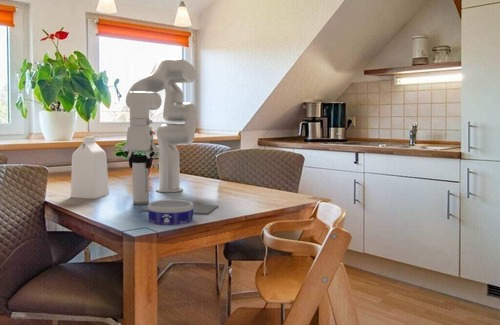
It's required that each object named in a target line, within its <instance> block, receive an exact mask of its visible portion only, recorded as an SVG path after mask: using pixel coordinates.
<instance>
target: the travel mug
mask: <svg viewBox="0 0 500 325" xmlns="http://www.w3.org/2000/svg"><path fill="white" fill-rule="evenodd" d="M131 156H132V160H133V161H132V168H131V170H132V202H133V203H132V204H134V205H138V206H139V205H140V206H141V205H148V204H149V203H150V186H149V184H150V183H149V182H150V180H149V178H150V177H149V175H150V174H149V168H146V158H147V156H146V154H145V155H143V154H135V153H134V154H131Z"/></svg>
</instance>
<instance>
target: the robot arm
mask: <svg viewBox="0 0 500 325" xmlns="http://www.w3.org/2000/svg"><path fill="white" fill-rule="evenodd" d="M196 76H197V74H196V69H195V67H194V65H193V64H192V63H190V62H189V61H187V60H186V59H184V58H183V59H182V58H161V59H160V60H157V62H156V63H155V65H154V67H153V68H152V70H151V72H150V73H149V75H148V76H146V77H143V78H142V79H139V80H138V81H137V82H135V83H133V84H132V86H131V87H130V88H129V90H128V92H127V94H126V96H125V105H126V107H127V108H128V109H129V125H128V127H127V131H126V142H125V144H124V145H122V147H121V148H120V149H121V151H123V153H124V155H125V156H127V159H128V166H129V168H130V169H132V161H133V160H132V156H131V154H134V155H135V152H143V153H144V154H145V156H147V158H146V168H148V169H150V168H151V167H152V164H153V163H152V162H153V161H152V158H154V156H155V155H156V153H158V167H159V168H158V175H159V176H158V178H159V179H158V180H159V181H158V182H159V183H158V184H159V185H158V187H156V188H155V191H156V192H159V193H179V192H180V193H181V192H182V191H183V190H184V187H182V186H180V185H181V180H180V179H181V178H180V176H181V175H180V174H181V173H180V168H181V167H180V164H181V163H180V151H179V149H178V148H177V146H176V145H191V144H193V142H194V140H195V136H196V135H195V134H196V125H197V119H198V118H197V117H198V112H197V106H196V105H195V104H194V103H193V102H187V101H185V102H184V92H183V90H182V89H181V88H180V87H179V85H178V84H177V83H179V84H180V83H181V84H182V83H183V84H186V83H188V84H190V83H193V82H194V81H195V79H196ZM163 90H164V93H165V96H164V104H163V111H162V117H163V120H164V121H166V122H167V123H164V124H161V125H159V126H158V127H157V129H156V138H157V145H158V146H157V145H156V144H155V143H154V142H155V141H154V133H153V128H152V126H150V125H151V124H153V120H151V118H150V111H156V110H158V109H160V107H161V106H162V103H163V102H162V96H161V95H160V93H159V92H161V91H163Z"/></svg>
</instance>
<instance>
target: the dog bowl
mask: <svg viewBox="0 0 500 325" xmlns="http://www.w3.org/2000/svg"><path fill="white" fill-rule="evenodd" d="M193 204H194V202H192V201H189V200H186V199H182V200H181V199H160V200H155V201H153V200H152V201H151V202H150V201H149V203H148V204H147V206H148V211H147V213H148V214H147V215H148V217H147V218H148V222H149V223H150V224H152V225H159V226H178V225H179V226H180V225H186V224H189V223H191V222H193V220H194V214H193Z"/></svg>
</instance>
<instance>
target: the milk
mask: <svg viewBox="0 0 500 325" xmlns="http://www.w3.org/2000/svg"><path fill="white" fill-rule="evenodd" d="M107 160H108V159H107V153H106V151H105V150H104V149H103V148H102V147H101V146H100V144H98V143H96V138H95V136H92V135H91V136H84V137H83V140H82V143H81V144H80V145H79V147H77V149H75V150H74V151H73V152H72V155H71V175H70V176H71V182H70V183H71V184H70V185H71V186H70V188H71V189H70V197H71V198H80V199H81V198H82V199H98V198H101V197H105V196H107V195H109V194H110V188H109V187H110V186H109V175H108V163H107V162H108V161H107Z"/></svg>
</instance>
